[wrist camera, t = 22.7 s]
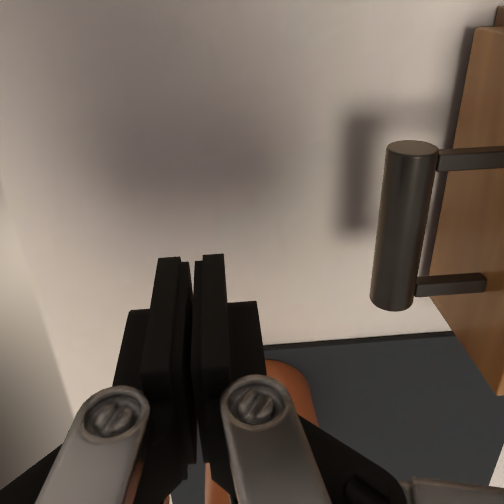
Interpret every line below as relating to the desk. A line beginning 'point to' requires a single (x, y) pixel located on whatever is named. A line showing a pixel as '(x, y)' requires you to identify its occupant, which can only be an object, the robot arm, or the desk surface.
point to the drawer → (453, 217)
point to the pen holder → (304, 406)
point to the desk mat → (395, 407)
